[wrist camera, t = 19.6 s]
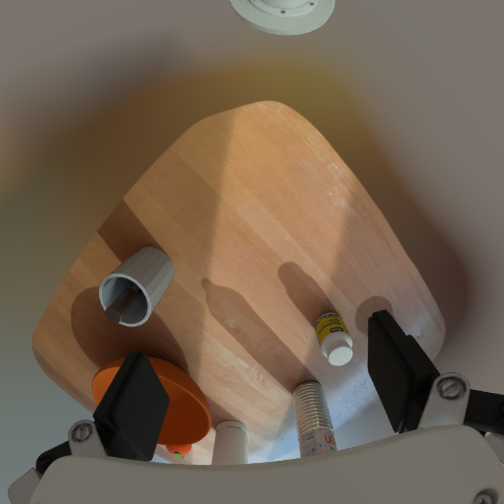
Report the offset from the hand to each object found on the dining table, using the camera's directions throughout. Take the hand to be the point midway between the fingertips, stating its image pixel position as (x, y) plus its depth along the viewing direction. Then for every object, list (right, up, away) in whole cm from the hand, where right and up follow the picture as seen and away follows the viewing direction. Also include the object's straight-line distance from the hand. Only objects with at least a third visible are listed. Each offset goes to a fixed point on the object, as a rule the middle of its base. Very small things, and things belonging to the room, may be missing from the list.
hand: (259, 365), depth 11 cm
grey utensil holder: (-18, +2, +36) cm, 40 cm away
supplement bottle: (+14, -9, +39) cm, 42 cm away
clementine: (-19, -45, +51) cm, 71 cm away
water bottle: (+12, -26, +44) cm, 53 cm away
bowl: (-20, -24, +44) cm, 54 cm away
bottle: (-5, -40, +49) cm, 64 cm away
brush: (-18, +1, +35) cm, 39 cm away
